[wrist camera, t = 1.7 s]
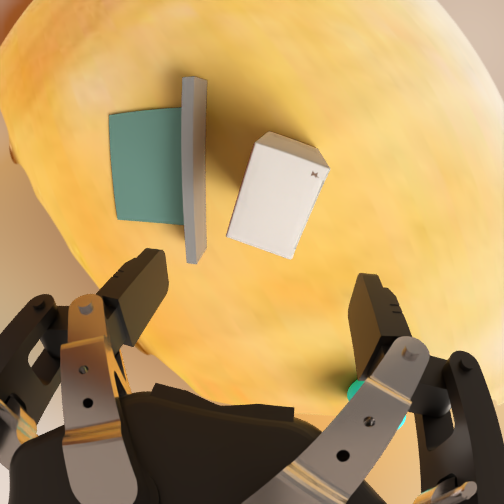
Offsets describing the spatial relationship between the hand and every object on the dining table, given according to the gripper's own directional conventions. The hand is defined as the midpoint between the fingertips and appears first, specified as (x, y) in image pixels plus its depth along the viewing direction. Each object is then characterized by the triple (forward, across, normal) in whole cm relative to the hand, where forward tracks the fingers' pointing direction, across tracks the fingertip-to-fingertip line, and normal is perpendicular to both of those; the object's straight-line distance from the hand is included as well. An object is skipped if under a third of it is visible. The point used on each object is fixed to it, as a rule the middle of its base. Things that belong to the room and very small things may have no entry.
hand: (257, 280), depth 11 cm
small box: (+20, 0, 0) cm, 20 cm away
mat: (+20, +16, 0) cm, 25 cm away
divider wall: (+20, +9, 0) cm, 22 cm away
